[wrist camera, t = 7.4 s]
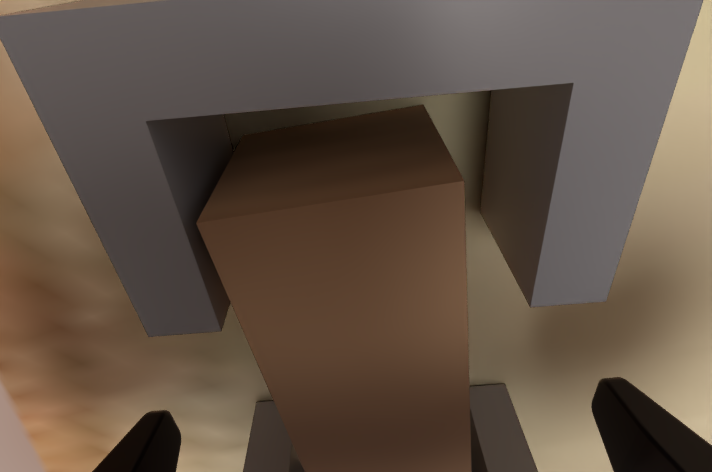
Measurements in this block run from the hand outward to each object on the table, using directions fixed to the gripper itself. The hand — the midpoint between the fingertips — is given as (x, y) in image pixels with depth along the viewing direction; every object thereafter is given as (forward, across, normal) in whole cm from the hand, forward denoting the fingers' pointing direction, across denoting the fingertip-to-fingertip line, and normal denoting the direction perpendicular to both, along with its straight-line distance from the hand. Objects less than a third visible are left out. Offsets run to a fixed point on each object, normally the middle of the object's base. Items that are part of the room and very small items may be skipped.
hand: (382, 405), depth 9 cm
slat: (+3, 0, 0) cm, 3 cm away
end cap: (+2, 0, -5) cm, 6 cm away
